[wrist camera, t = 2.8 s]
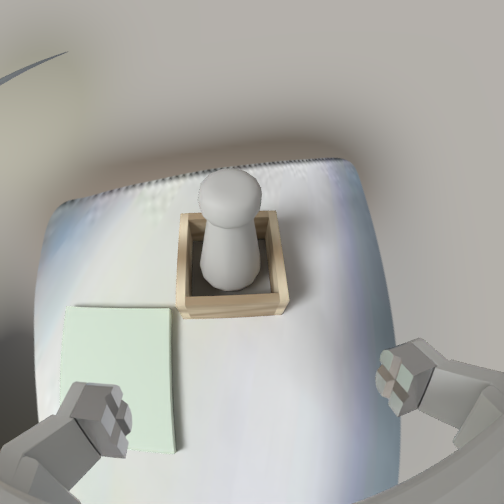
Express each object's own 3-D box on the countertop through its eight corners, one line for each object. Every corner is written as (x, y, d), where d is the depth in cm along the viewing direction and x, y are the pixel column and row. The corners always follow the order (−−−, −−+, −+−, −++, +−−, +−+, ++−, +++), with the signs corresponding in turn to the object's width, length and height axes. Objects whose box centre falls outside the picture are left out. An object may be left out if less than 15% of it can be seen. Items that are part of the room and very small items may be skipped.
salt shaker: (266, 288, 28) (290, 207, 17) (213, 307, 27) (199, 233, 15) (245, 242, 31) (254, 148, 19) (195, 257, 29) (177, 166, 18)
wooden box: (281, 314, 27) (289, 300, 23) (183, 319, 26) (175, 305, 22) (271, 232, 32) (276, 210, 28) (185, 235, 31) (180, 213, 27)
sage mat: (176, 452, 19) (174, 454, 18) (66, 434, 18) (61, 434, 17) (171, 311, 26) (169, 308, 25) (70, 309, 25) (66, 306, 24)
